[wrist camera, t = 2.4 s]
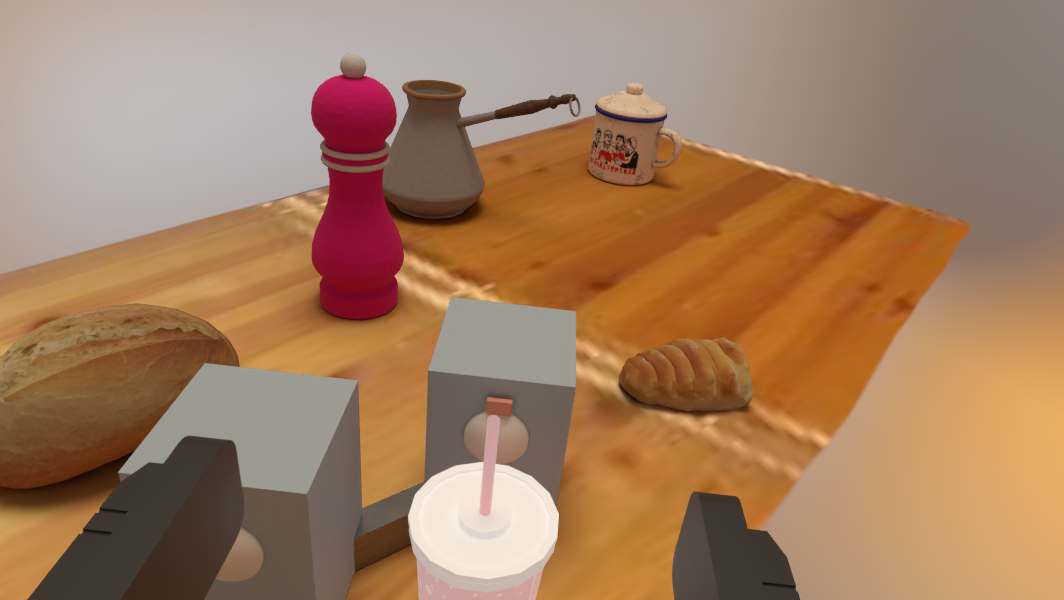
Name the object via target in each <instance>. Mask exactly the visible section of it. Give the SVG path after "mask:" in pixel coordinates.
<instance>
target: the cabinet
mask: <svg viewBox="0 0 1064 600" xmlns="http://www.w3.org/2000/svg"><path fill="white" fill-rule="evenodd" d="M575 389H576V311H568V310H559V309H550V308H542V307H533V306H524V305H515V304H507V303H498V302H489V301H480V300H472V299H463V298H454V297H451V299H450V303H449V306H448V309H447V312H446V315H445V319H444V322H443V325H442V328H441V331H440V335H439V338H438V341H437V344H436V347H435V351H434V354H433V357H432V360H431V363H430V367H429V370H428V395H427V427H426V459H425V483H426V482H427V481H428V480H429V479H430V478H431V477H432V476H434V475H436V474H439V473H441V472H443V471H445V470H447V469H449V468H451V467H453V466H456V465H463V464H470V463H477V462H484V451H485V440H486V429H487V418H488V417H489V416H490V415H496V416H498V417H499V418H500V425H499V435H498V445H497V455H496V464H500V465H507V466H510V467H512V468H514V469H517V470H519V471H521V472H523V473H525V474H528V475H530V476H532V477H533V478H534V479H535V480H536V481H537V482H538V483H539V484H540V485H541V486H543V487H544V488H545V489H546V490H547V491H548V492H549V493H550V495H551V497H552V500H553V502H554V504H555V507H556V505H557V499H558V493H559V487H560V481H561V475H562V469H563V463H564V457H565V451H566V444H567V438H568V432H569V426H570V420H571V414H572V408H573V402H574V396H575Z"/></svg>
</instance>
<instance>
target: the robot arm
mask: <svg viewBox="0 0 1064 600" xmlns="http://www.w3.org/2000/svg"><path fill="white" fill-rule="evenodd" d="M243 516H244V497H243V490H242V484H241V477H240V470H239V463H238V457H237V450H236V446H235V443H234V442H233V441H232V440H225V439H216V438H208V437H199V436H190V435H189V436H186V437H184V438H183V439H182V440H181V441H180V442H179V443H178V444H177V446H176V447H175V448H174V450H173V451H172V452H171V454H170V455H169V457H168V458H167V459H166V461H165V462H164V463H163V464H161V463H152V462H148V463H147V464H146V465H144V466H143V467H141V468H140V469H138V470H137V471H136V472H134V473H133V474H131V475H130V476H128V477H127V478H126V479H124V480H123V481H121V482H120V483H119V484H118V485H117V487H116V488H115V489H114V490H113V492H112V493H111V494H110V496H109V497H108V498H107V499H106V501H105V502H104V503H103V504H102V506H101V507H100V511H99V513H95V515H94V516H93V517H92V518H91V520H90V521H89V522H88V523H87V525H86V526H85V527H84V528H83V533H82V534H79V535H78V536H77V537H76V539H75V540H74V541H73V542H72V544H71V545H70V546H69V547H68V549H67V550H66V551H65V553H64V554H63V555H62V556H61V558H60V559H59V560H58V561H57V563H56V564H55V565H54V567H53V568H52V569H51V570H50V572H49V573H48V574H47V575H46V577H45V578H44V579H43V580H42V582H41V583H40V584H39V586H38V587H37V588H36V589H35V591H34V592H33V593H32V594H31V596H30V597H29V598H28V599H27V600H204V599H205V597H206V595H207V593H208V591H209V590H210V588H211V586H212V584H213V582H214V580H215V578H216V576H217V575H218V573H219V571H220V569H221V567H222V565H223V563H224V562H225V560H226V558H227V556H228V554H229V552H230V550H231V548H232V547H233V545H234V543H235V541H236V539H237V537H238V534H239V532H240V529H241V525H242V521H243ZM672 581H673V592H674V599H675V600H800V598H799V594H798V592H797V591H796V588H795V587H796V585H795V581H794V578H793V575H792V572H791V569H790V566H789V563H788V559H787V557H786V556H785V554H784V553H783V552H782V550H781V549H780V548H779V546H778V545H777V544H776V542H775V541H774V540H773V539H772V537H771V536H770V535H769V533H768V532H767V531H760V530H752V529H748V528H747V525H746V521H745V517H744V513H743V510H742V506H741V503H740V500H739V499H738V497H736V496H728V495H719V494H710V493H702V492H693V493H692V495H691V497H690V500H689V503H688V507H687V510H686V514H685V517H684V521H683V524H682V527H681V531H680V534H679V538H678V541H677V545H676V548H675V552H674V558H673V570H672Z"/></svg>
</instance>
